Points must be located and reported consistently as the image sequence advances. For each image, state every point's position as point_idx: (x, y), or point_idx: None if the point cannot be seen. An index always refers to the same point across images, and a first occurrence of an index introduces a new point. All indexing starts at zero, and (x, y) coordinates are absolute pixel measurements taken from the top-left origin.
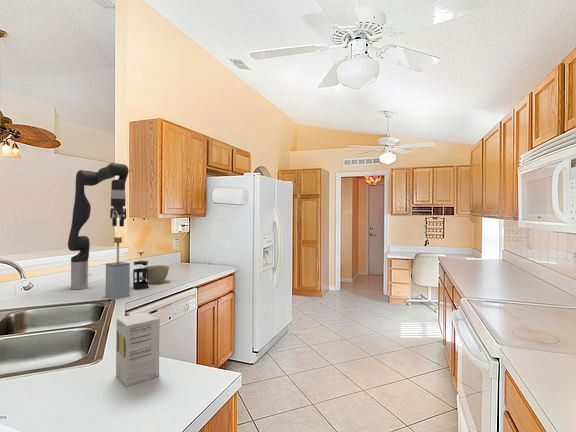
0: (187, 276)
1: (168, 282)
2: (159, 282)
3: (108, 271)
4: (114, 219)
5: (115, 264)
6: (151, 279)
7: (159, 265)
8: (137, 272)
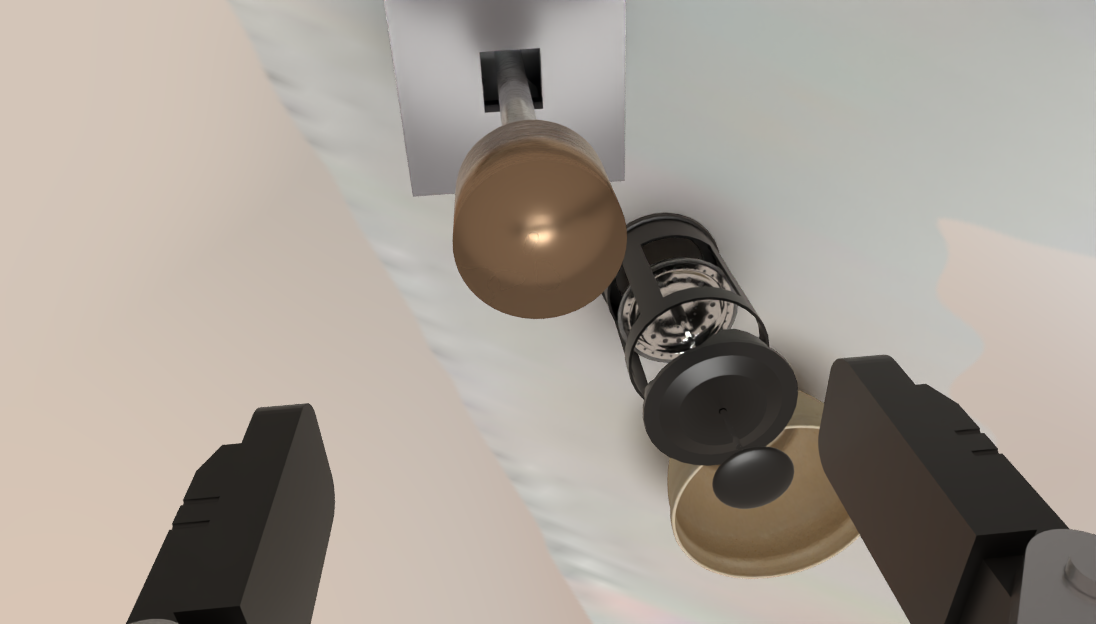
0: (741, 614)
1: None
2: None
3: None
4: (979, 605)
5: (419, 9)
6: None
7: (839, 551)
8: (655, 302)
